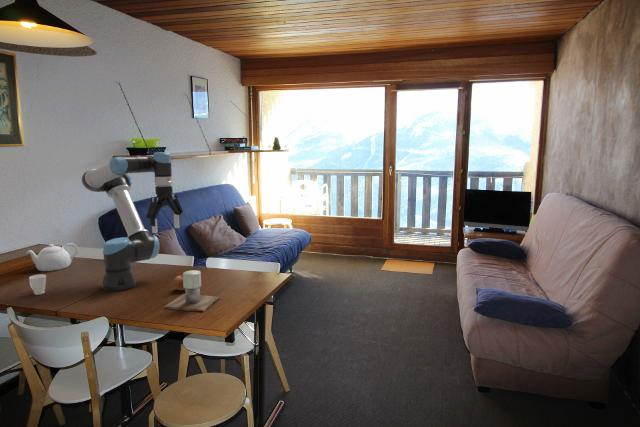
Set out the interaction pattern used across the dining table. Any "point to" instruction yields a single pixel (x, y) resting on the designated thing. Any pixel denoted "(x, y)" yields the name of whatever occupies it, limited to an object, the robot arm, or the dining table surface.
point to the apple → (179, 282)
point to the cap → (191, 279)
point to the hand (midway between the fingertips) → (166, 230)
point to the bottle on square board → (192, 301)
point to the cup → (38, 283)
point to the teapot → (52, 258)
